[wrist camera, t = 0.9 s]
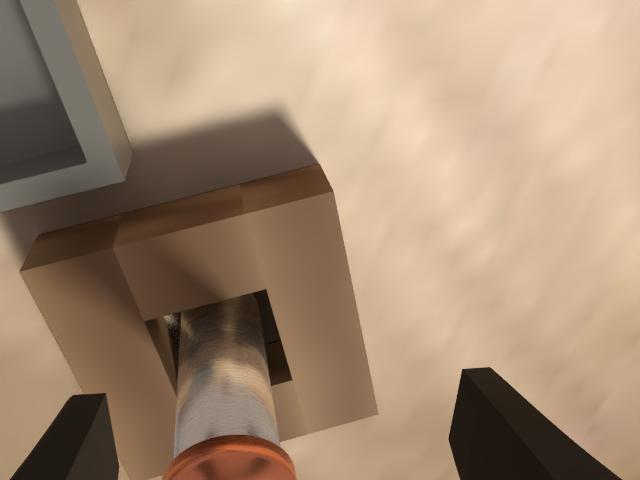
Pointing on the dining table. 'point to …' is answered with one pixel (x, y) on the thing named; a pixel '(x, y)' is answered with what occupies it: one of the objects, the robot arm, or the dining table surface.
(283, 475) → the pin
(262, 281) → the pin block
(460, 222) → the dining table surface
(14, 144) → the tray
